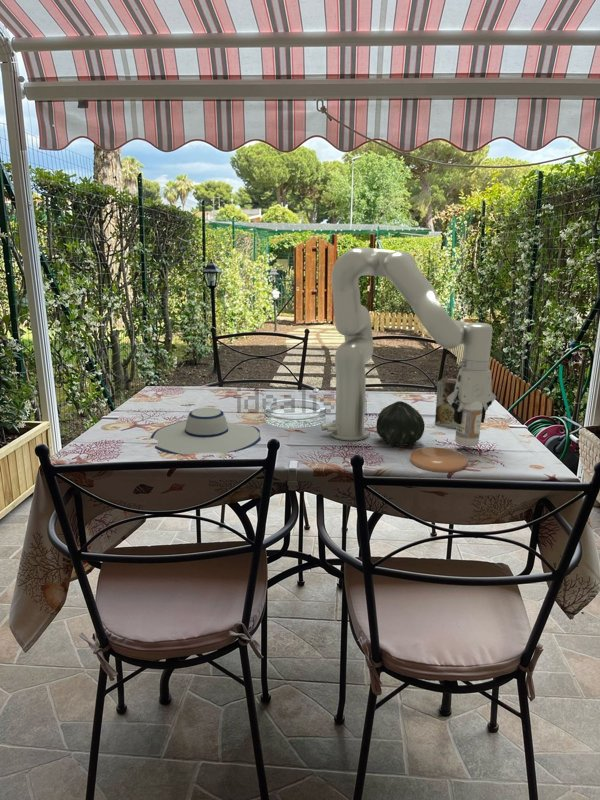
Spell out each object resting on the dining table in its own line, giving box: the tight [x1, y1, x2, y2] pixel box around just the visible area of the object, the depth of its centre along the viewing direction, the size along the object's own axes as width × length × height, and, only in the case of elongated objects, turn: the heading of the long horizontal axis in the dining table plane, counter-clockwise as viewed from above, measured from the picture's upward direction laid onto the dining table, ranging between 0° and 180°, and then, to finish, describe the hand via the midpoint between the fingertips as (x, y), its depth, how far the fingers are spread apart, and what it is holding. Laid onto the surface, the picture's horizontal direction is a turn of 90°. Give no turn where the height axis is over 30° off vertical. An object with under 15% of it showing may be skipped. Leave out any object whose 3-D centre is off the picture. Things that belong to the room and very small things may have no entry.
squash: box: [375, 400, 426, 448], centre depth 175 cm, size 14×15×15 cm
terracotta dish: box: [409, 446, 468, 473], centre depth 160 cm, size 16×16×2 cm
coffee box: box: [434, 377, 457, 429], centre depth 192 cm, size 9×6×16 cm
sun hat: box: [150, 407, 262, 455], centre depth 181 cm, size 36×36×9 cm
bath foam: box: [454, 401, 483, 447], centre depth 167 cm, size 7×7×20 cm
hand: (468, 421), depth 168 cm, fingers closed on bath foam, 7 cm apart
